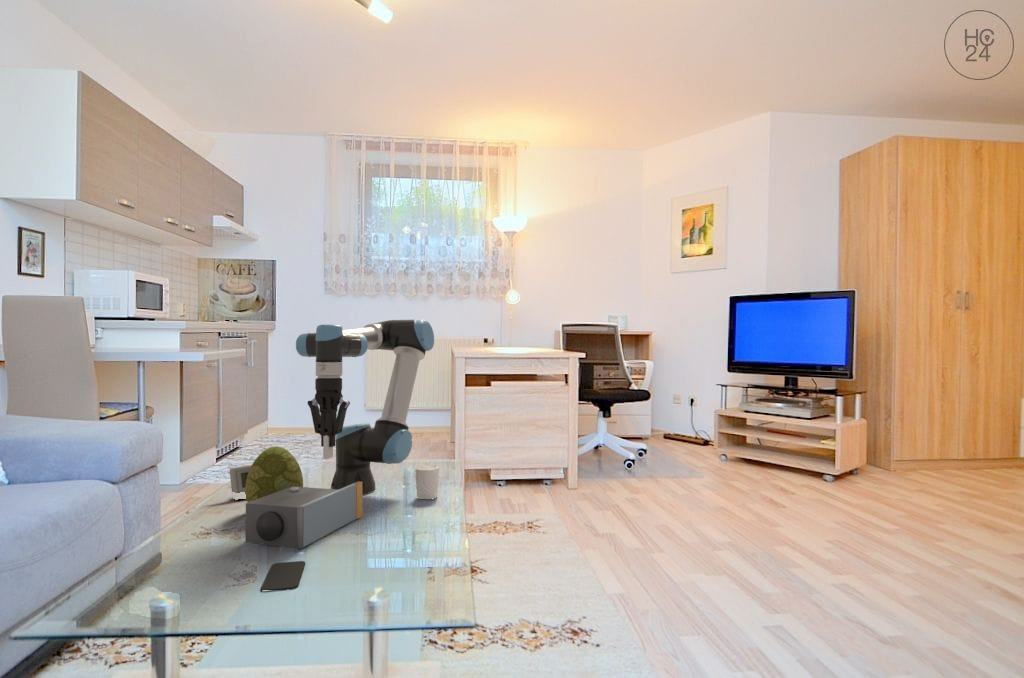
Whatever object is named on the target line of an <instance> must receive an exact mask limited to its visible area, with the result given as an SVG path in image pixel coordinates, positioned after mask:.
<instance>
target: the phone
mask: <svg viewBox="0 0 1024 678" xmlns="http://www.w3.org/2000/svg"><path fill="white" fill-rule="evenodd" d="M305 567H306V561H304V560H296V561H284V562H275V563H273V564H271V566H270V568H269V570H268V572H267V574H266V576H265V579H264V581H263V582H262V585H261V586H260V591H261V590H279V591H288V590H287V589H290V590H295V589H297V588H298V587H299V585H300V582H301V579H302V576H303V573H304V571H305V570H304V569H305Z"/></svg>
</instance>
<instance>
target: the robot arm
mask: <svg viewBox="0 0 1024 678" xmlns="http://www.w3.org/2000/svg"><path fill="white" fill-rule="evenodd" d="M434 345H435V335H434V329H433V327H432V325H431V323H430V322H429V321H428V320H426V319H417V318H415V319H391V320H384V321H380V322H376V323H369V324H366V325H364V326H363V327H357V328H350V329H349V328H348V329H343V326H342V325H340V324H319V325H317V326H316V330H315V332H307V333H301V334H300V335H298V337H297V338H296V341H295V349H296V353H297V355H300V356H301V357H308V358H312V357H313V358H315V376H316V378H315V381H314V383H315V385H314V386H315V387H314V389H315V391H316V392H315V394H314V398H313V399H311V400H308V401H307V406H308V407H309V409H310V413H311V418H312V423H313V429H314V433H316V434H318V435H320V437H321V438H320V445H321V447H322V448H323V451H322V459H324V460H330V459H331V458H333V457H334V447H335V471H334V475H333V477H332V481H331V483H330V489H337V490H339V489H341V488H344V487H346V486H348V485H351V484H353V483H355V482H358V481H360V482H362V495H365V494H370V493H373V492H374V491H376V482H375V481H376V480H375V478H374V476H373V472H372V470H371V463H377V464H378V463H379V464H387V465H392V464H393V465H394V464H401V463H403V462H404V461H405V460H406V459H407V458H408V457H409V455H410V453H411V450H412V447H413V440H412V439H413V435H412V433H411V431H410V430H409V428H410V427H409V425H408V424H407V422H406V421H407V417H408V413H409V409H410V405H411V399H412V395H413V392H414V391H413V390H414V385H415V383H416V382H415V381H416V377H417V374H418V369H419V363H420V361H421V360H423V359H425V356H426V352H430V351H431V350H432V349H433V347H434ZM368 350H370V351H374V350H382V351H383V350H385V351H393V353H394V354H395V360H394V363H393V367H392V372H391V376H390V380H389V383H388V388H387V392H386V398H385V401H384V404H383V409H382V413H381V417H379V418H378V419H376V420H375V422H374V426H373V427H372V426H371V423H370V422H364V423H358V424H357V423H356V424H350V425H344V423H345V418H346V415H347V410H348V408H349V406H350V404H351V401H349V400H346V399H345V398H344V395H343V394H342V391H343V378H342V376H343V358H357V357H362V356H364V355H365V354H366V352H367V351H368ZM372 491H373V492H372Z"/></svg>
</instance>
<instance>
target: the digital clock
mask: <svg viewBox="0 0 1024 678" xmlns="http://www.w3.org/2000/svg"><path fill="white" fill-rule="evenodd" d="M251 466H252V464H245V465H240V466H233V467H230V469H229V475H230V477H229V479H230V487H231V493H232V492H235V493H240V492H245V486H246V480H247V476H248V473H249V470H250V468H251Z"/></svg>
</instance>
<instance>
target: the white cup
mask: <svg viewBox="0 0 1024 678" xmlns="http://www.w3.org/2000/svg"><path fill="white" fill-rule="evenodd" d="M414 469H415V484H416V485H415V487H416V498H417V497H418V498H421V499H432V498H435V499H437V498H438V495H439V494H438V493H439V492H438V490H439V481H440V480H439V478H440V477H439V476H440V467H439V466H438V465H433V464H432V465H431V464H429V465H428V464H426V465H425V464H424V465H419V466H417V467H416V466H415V468H414ZM436 497H437V498H436ZM418 498H417V499H418ZM432 500H433V499H432Z"/></svg>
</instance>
